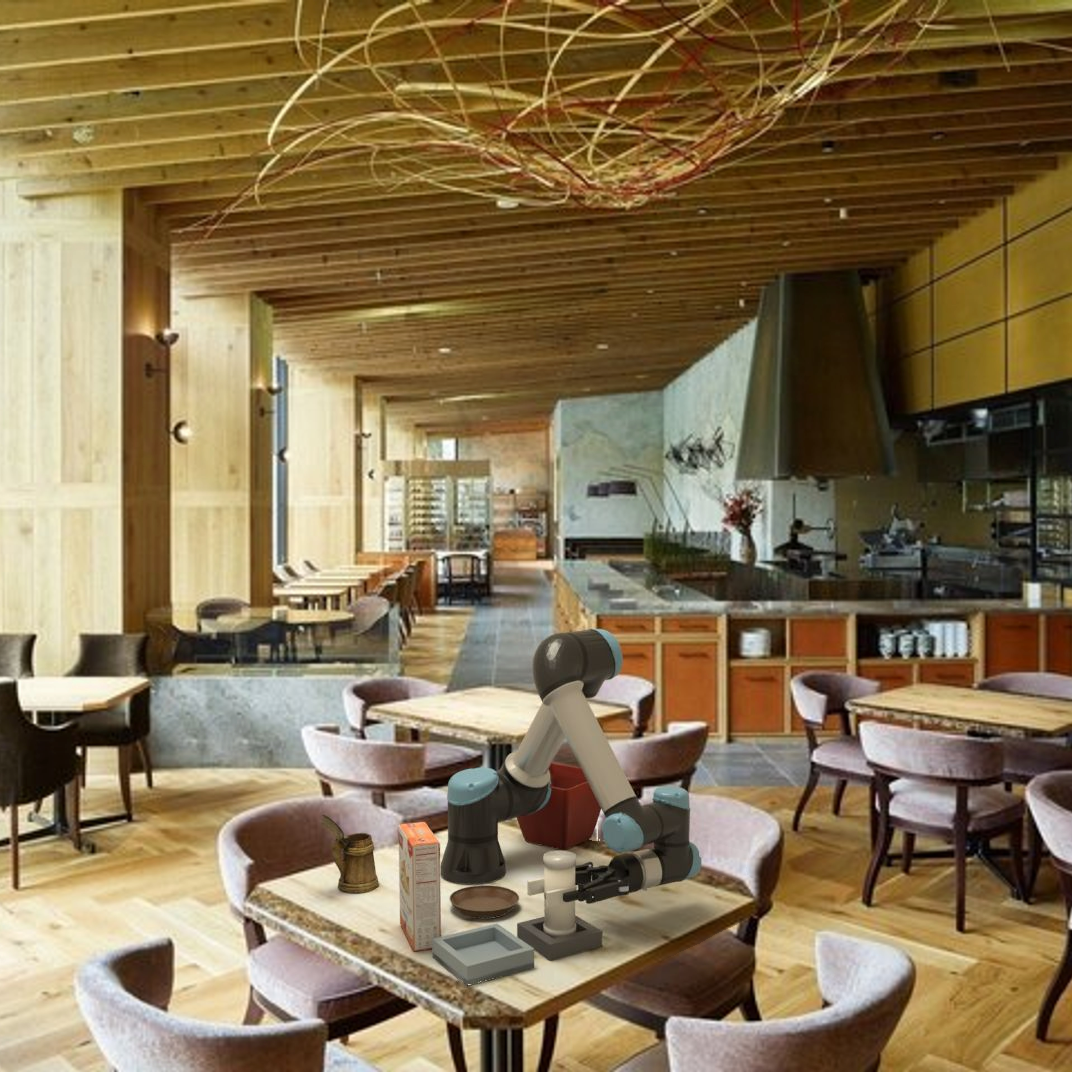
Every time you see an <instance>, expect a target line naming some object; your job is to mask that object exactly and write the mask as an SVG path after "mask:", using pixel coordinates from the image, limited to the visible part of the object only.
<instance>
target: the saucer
mask: <svg viewBox="0 0 1072 1072" xmlns="http://www.w3.org/2000/svg"><path fill="white" fill-rule="evenodd" d="M519 900H520V895H519V894H518V892H516V891H515V890H513V889H510V888H508V887H504V886H500V885H487V884H483V885H481V884H479V885H471V886H467V887H462V888H459V889H457V890H455V891H453V892H452V893H451V894H450V895H449V902H450V903H451V905H452V906H453V907H454V909H455V910H456V911H458V912H459V913H460V914H461V915H464V916H466V917H469V918H474V919H482V918H484V919H494V918H493V917H495V918H498V916H499V917H503V916H505V915H507V914H508V913H510V912H511V911H512V910H513V909H515V906H516V905H517V903H518V902H519ZM506 913H507V914H506ZM504 914H505V915H504Z"/></svg>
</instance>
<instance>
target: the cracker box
mask: <svg viewBox="0 0 1072 1072" xmlns="http://www.w3.org/2000/svg"><path fill="white" fill-rule="evenodd" d="M397 828H398V874H399V875H398V877H399V883H398V884H399V924H400V925H401V928H402V930H403V933H404V935H405V937H406V938H407V941H408V943H409V945H410V947H411V950H412V951H413V952H419V951H425V950H427V951H428V950H432V939H434V938H438V937H442V916H441V915H442V914H441V910H442V909H441V901H442V900H441V897H442V896H441V843H440V841H439V839H438V838H437V837H436V836H435V834H434V833H433V831H432V830H431V829H430V828H429V826H428V824H427V822H425V821H419V822H406V823H401V824H398V826H397Z"/></svg>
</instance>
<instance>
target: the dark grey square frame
mask: <svg viewBox="0 0 1072 1072" xmlns="http://www.w3.org/2000/svg"><path fill="white" fill-rule="evenodd" d="M575 923H576V933H573V934H569V935H565V936H562V937H558V938H551V937H550V936H548V935H546V934H545V933H543V924H544V916H542V917H536V918H533V919H528V920H525V921H522V922H517V924H516V937H518V938H519V939H521V940H522V941H524V942H525V943H527V944H528V945H529V946H531V947H532V948H534V952H536V953H538V954H539V955H541V956H543V958H545V959H547V960H548V961H554V960H557V959H562V958H566V957H568V956H569V957H570V956H572V955H575V954H580V953H583V952H586V951H591V950H594V949H598V948H601V947H603V930H601V929H600V928H598V927H596V926H594V925H593V924H591V923H589V922H588V921H587V920H585V919H583V918H581V917H579V916H578V915H576V914H575Z"/></svg>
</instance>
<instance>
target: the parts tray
mask: <svg viewBox="0 0 1072 1072" xmlns="http://www.w3.org/2000/svg"><path fill="white" fill-rule="evenodd" d="M431 951H432V952H431V953H432V955H431V956H432V958H433V959H434V960H435V961H436V962H437V963H439V964H440V965H442V967H443V968H445V969H446V970H447V971H448V972H449V973H451V974H452V975H453V976H454V977H456V978H457V979H458V978H459V979H460V980H461V981H460V980H459V979H458V980H459V981H460V982H462V981H463V982H464V983H465V984H466V985H468V984H473V983H476V984H479V983H478V982H480V981H484V982H486V981H485V980H487V981H490V980H489V979H491V980H493V979H492V978H495V979H497V977H498V978H501V976H502V977H505V976H509V975H513V974H516V973H520V972H524V971H527V970H530V969H535V950H534V948H532V947H531V946H529V945H528V944H527V943H525V942H524V941H522V940H521V939H519V938H518V937H517V935H515V934H514V933H512V932H510V931H509V930H507V929H506V928H505V927H504V926H501V925H500V924H499V923H492V924H489V925H484V926H480V927H476V928H472V929H468V930H463V931H460V932H454V933H451V934H447V935H443V936H442V935H441V937H438V938H434V939H432V949H431ZM463 982H462V983H463ZM464 983H463V984H464ZM480 983H481V982H480ZM465 984H464V985H465ZM466 985H465V986H466ZM473 985H474V984H473Z"/></svg>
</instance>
